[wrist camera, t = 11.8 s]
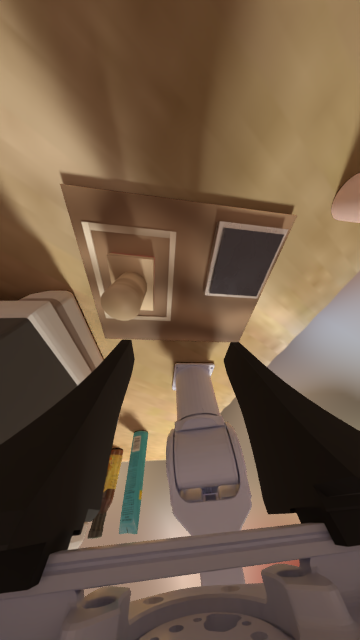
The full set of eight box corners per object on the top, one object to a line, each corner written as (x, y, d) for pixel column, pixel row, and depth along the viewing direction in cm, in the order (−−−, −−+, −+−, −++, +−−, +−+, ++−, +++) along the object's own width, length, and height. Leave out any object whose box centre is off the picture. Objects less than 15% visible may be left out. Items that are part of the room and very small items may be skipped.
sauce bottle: (111, 447, 55) (86, 539, 39) (126, 448, 58) (108, 536, 41) (106, 451, 58) (80, 539, 42) (120, 452, 61) (101, 536, 44)
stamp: (154, 304, 18) (148, 333, 13) (119, 302, 18) (100, 331, 13) (154, 256, 15) (146, 272, 10) (112, 252, 15) (82, 265, 10)
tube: (141, 436, 50) (128, 533, 35) (129, 434, 48) (110, 535, 33) (153, 430, 47) (144, 533, 32) (140, 428, 45) (125, 535, 30)
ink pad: (253, 295, 18) (258, 300, 17) (202, 292, 18) (205, 296, 17) (281, 229, 14) (291, 229, 13) (217, 221, 13) (221, 221, 12)
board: (236, 339, 24) (238, 343, 23) (107, 335, 22) (104, 339, 21) (291, 216, 14) (298, 215, 13) (66, 185, 12) (58, 183, 11)
